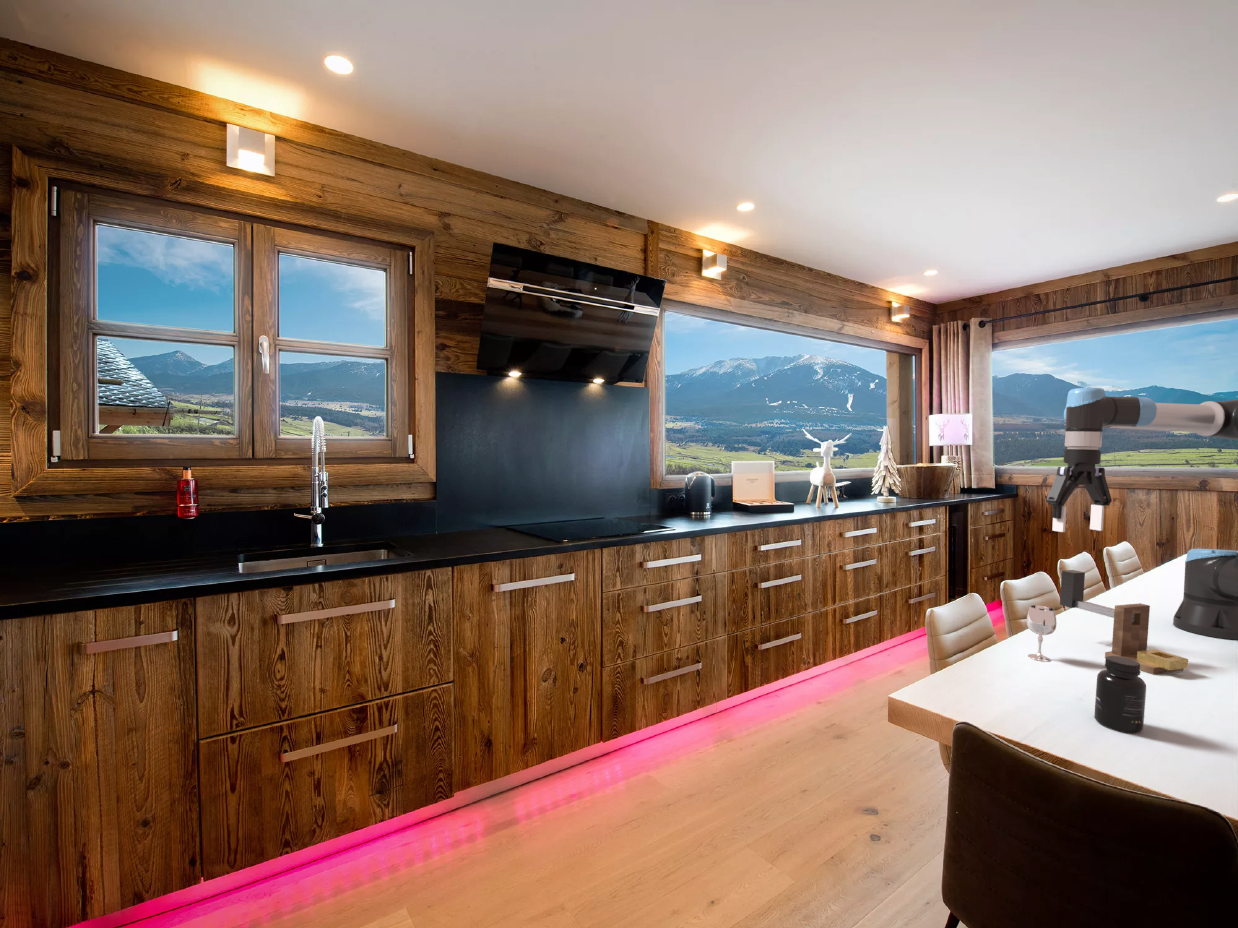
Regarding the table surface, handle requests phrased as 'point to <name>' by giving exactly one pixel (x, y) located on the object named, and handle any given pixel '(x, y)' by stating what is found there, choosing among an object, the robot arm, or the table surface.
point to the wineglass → (1041, 626)
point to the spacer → (1162, 659)
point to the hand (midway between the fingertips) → (1077, 530)
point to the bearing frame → (1132, 635)
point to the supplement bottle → (1120, 695)
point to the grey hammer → (1080, 594)
